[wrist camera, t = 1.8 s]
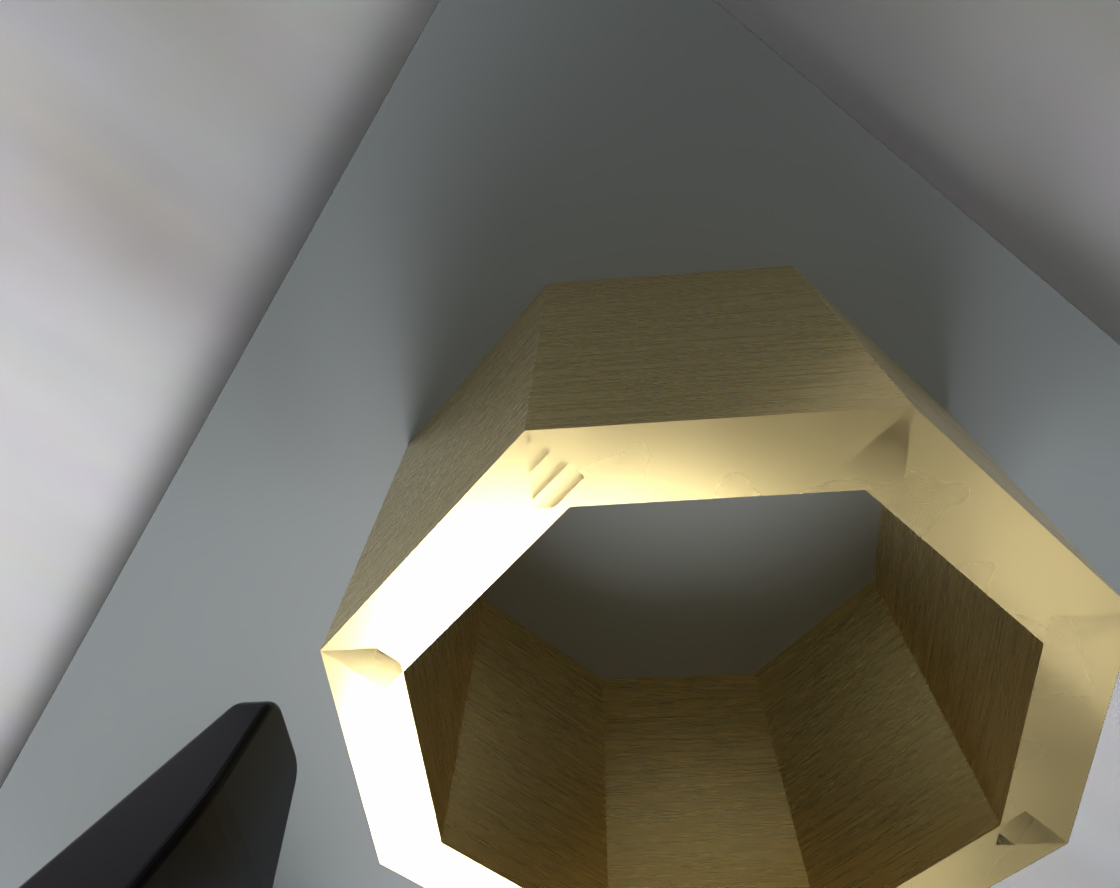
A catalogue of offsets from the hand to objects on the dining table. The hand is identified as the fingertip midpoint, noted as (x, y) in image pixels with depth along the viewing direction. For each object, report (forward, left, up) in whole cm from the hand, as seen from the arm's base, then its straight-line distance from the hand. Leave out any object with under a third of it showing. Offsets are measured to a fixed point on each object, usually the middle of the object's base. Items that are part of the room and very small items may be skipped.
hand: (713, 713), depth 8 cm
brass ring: (0, 0, -3) cm, 3 cm away
